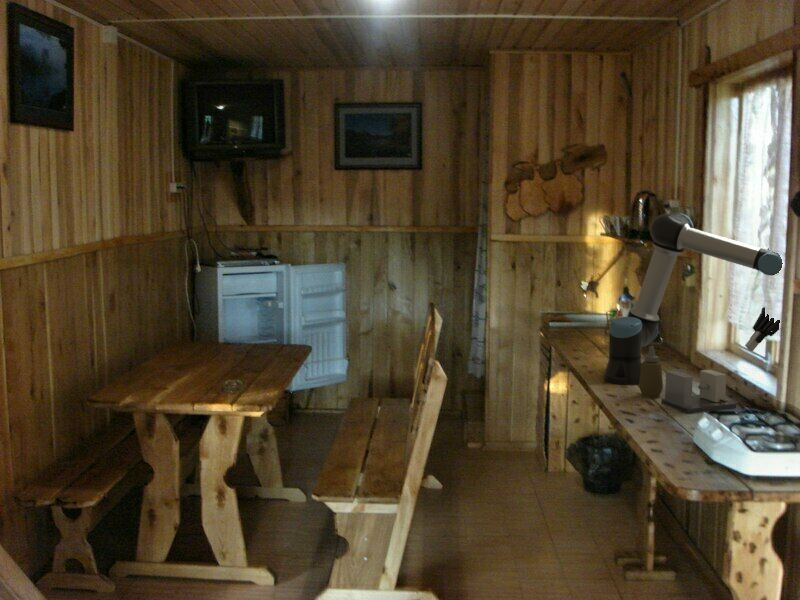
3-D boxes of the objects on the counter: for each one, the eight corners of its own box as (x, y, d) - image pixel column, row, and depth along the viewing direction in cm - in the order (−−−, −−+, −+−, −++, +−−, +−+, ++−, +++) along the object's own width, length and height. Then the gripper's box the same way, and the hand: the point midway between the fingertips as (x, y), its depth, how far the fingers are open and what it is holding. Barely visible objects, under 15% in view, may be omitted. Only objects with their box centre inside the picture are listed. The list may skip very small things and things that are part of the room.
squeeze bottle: (658, 393, 290) (659, 343, 288) (666, 399, 282) (667, 347, 280) (635, 393, 290) (636, 344, 288) (643, 399, 282) (644, 348, 280)
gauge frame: (661, 403, 277) (662, 370, 275) (708, 397, 283) (709, 365, 281) (687, 413, 264) (688, 378, 262) (736, 408, 269) (737, 373, 268)
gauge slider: (692, 397, 277) (692, 371, 276) (709, 395, 279) (710, 369, 278) (712, 405, 267) (713, 378, 266) (730, 402, 269) (731, 376, 268)
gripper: (811, 306, 274) (768, 359, 271) (782, 301, 287) (741, 351, 284) (799, 291, 272) (756, 344, 269) (770, 287, 284) (729, 337, 282)
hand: (748, 348), depth 277 cm, fingers closed
